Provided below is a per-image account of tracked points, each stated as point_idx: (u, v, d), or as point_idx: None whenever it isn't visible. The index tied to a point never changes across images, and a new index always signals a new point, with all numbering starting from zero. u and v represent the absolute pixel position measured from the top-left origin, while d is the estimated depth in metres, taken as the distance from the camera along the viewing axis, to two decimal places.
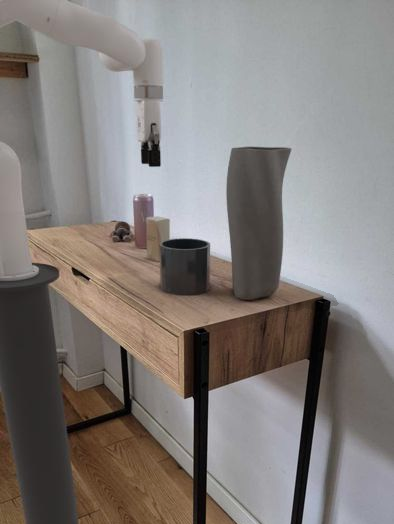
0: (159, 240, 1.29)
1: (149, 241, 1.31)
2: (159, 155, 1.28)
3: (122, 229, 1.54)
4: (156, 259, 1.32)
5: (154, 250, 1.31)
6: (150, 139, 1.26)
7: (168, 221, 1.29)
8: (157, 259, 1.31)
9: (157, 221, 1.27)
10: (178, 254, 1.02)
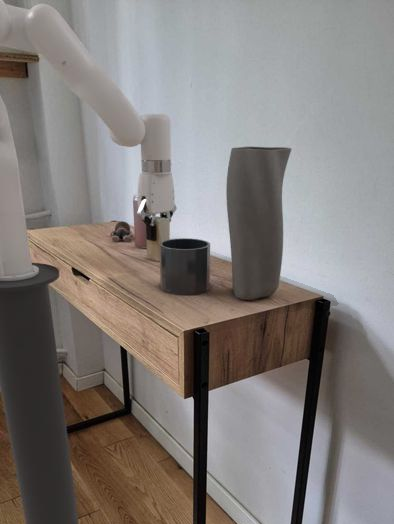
0: (159, 240, 1.29)
1: (149, 241, 1.31)
2: (154, 230, 1.28)
3: (122, 229, 1.54)
4: (156, 259, 1.32)
5: (154, 250, 1.31)
6: (146, 214, 1.27)
7: (168, 221, 1.29)
8: (157, 259, 1.31)
9: (157, 221, 1.27)
10: (178, 254, 1.02)
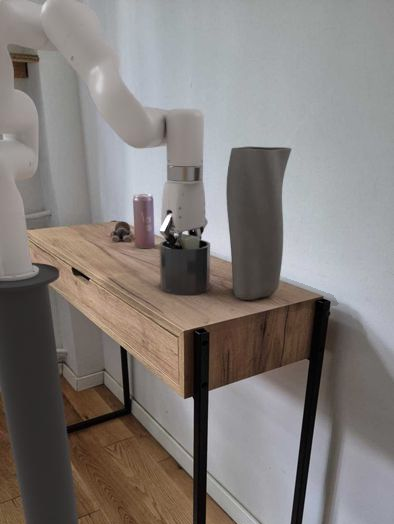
0: None
1: None
2: None
3: (122, 229, 1.54)
4: None
5: None
6: (171, 231, 1.04)
7: (197, 239, 1.06)
8: None
9: (185, 240, 1.04)
10: (178, 254, 1.02)
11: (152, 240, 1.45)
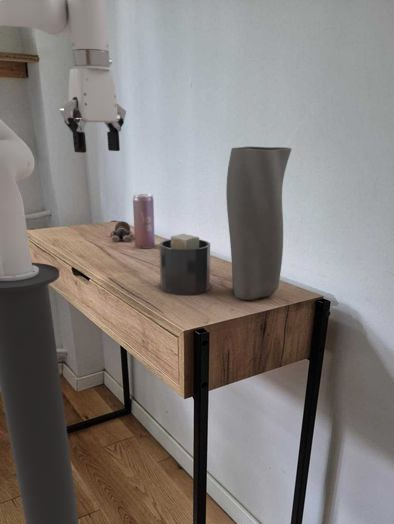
0: None
1: None
2: (82, 138, 1.02)
3: (122, 229, 1.54)
4: None
5: None
6: (75, 118, 1.02)
7: (197, 239, 1.06)
8: None
9: (185, 240, 1.04)
10: (178, 254, 1.02)
11: (152, 240, 1.45)
